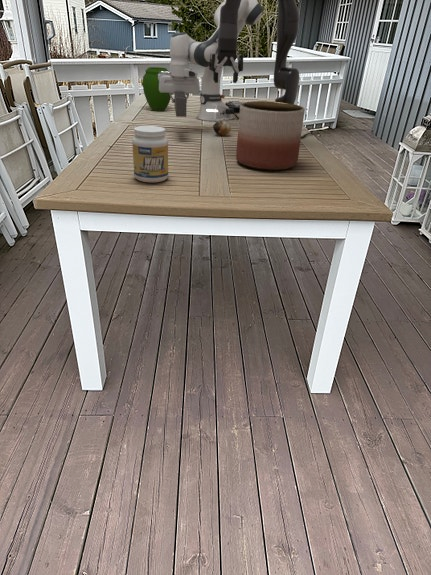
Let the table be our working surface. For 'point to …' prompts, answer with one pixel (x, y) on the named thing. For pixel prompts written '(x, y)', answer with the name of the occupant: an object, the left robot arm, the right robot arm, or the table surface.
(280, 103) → the planter
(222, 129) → the seashell
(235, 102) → the sign
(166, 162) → the supplement tub
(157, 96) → the vase
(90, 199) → the table surface
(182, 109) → the bar
